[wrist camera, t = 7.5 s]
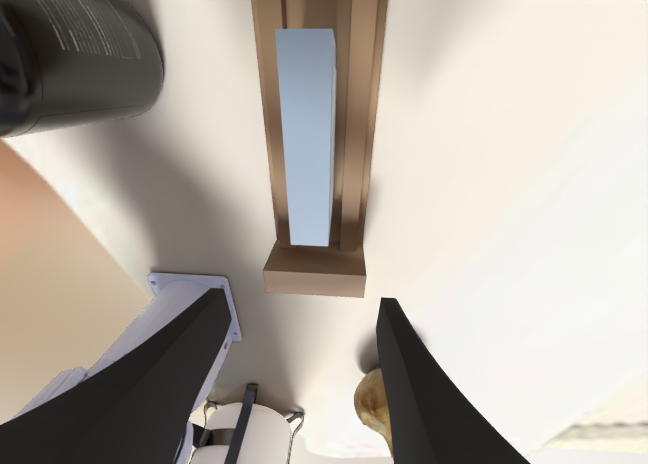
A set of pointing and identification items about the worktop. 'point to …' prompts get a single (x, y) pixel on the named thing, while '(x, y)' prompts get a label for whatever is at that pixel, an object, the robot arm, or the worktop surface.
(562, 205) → the worktop surface
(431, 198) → the worktop surface
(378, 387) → the onion
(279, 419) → the coffee press
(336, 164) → the door track
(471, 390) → the worktop surface
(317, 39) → the light blue flat block
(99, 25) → the supplement bottle
